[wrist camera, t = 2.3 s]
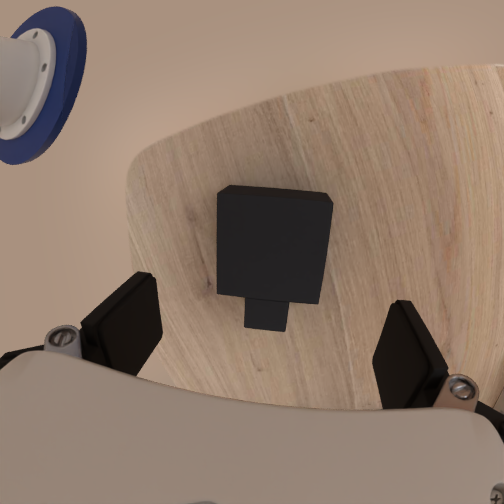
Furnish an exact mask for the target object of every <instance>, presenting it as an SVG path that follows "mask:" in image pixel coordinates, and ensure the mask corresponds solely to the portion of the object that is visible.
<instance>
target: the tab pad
mask: <svg viewBox="0 0 504 504" xmlns="http://www.w3.org/2000/svg"><path fill="white" fill-rule="evenodd" d="M332 212H333V202H332V200H331V199H330V197H329V196H328V194H327V193H321V192H312V191H302V190H291V189H279V188H266V187H252V186H236V185H229V186H228V187H226V188H224V189H223V190H221V191H220V192H218V193H217V294H221V295H229V296H237V297H245V317H244V327H245V328H252V329H261V330H270V331H280V332H285V330H286V323H287V316H288V308H289V302H295V303H306V304H318V303H319V298H320V292H321V286H322V281H323V275H324V268H325V262H326V256H327V249H328V242H329V235H330V227H331V220H332Z"/></svg>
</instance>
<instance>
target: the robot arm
mask: <svg viewBox="0 0 504 504" xmlns="http://www.w3.org/2000/svg"><path fill="white" fill-rule="evenodd" d="M55 65H56V46H55V42H54V38H53V37H52V35H51V34H50V33H49V32H48V31H46V30H43V29H39V28H36V29H31V30H28V31H26V32H25V33H23V34H22V35H20V36H19V37H18V38H17V39H14V38H7V37H0V138H1V139H4V140H9V139H15V138H18V137H20V136H21V135H23V134H24V133H25V132H26V131H27V130H28V129H29V128H30V127H31V126H32V124H33V123H34V122H35V120H36V119H37V117H38V115H39V113H40V112H41V110H42V108H43V105H44V103H45V101H46V99H47V96H48V93H49V90H50V87H51V84H52V80H53V76H54V71H55ZM81 326H82V328H81V329H80V330H78V329H77V328H76V327H74V326H72V325H62V326H58V327H56V328H54V329H52V330H51V331H49V333H48V334H47V335H46V337H45V342H44V345H40V346H35V347H31V348H26V349H21V350H17V351H12V352H7V353H5V354H4V355H3V356H2V357H1V358H0V504H504V414H502V413H500V412H498V411H496V410H495V409H493V408H491V407H489V406H487V405H485V404H484V403H482V402H480V401H478V398H479V388H478V386H477V384H476V383H475V382H474V381H473V380H472V379H471V378H469V377H468V376H466V375H463V374H452V375H449V373H448V371H447V370H448V366H447V364H446V362H445V360H444V358H443V356H442V354H441V352H440V351H439V349H438V347H437V345H436V343H435V341H434V340H433V338H432V336H431V334H430V332H429V331H428V329H427V327H426V325H425V324H424V322H423V320H422V319H421V317H420V315H419V314H418V312H417V310H416V309H415V307H414V305H413V304H412V302H411V301H407V300H396V302H395V303H392V304H391V306H390V308H389V312H388V315H387V318H386V321H385V324H384V327H383V330H382V333H381V336H380V339H379V342H378V344H377V347H376V350H375V353H374V355H373V360H372V364H373V369H374V373H375V377H376V381H377V385H378V389H379V394H380V398H381V403H382V407H383V409H381V410H344V409H319V408H304V407H292V406H282V405H273V404H264V403H257V402H250V401H243V400H237V399H231V398H225V397H219V396H214V395H209V394H204V393H199V392H195V391H190V390H186V389H181V388H177V387H173V386H169V385H165V384H161V383H157V382H153V381H150V380H146V379H143V378H139V377H136V376H137V374H138V373H139V371H140V370H141V368H142V367H143V365H144V364H145V362H146V361H147V359H148V358H149V356H150V355H151V353H152V352H153V350H154V349H155V347H156V346H157V344H158V343H159V341H160V340H161V338H162V335H163V329H162V323H161V315H160V308H159V300H158V292H157V283H156V279H155V277H153V276H152V274H151V273H146V272H139V271H138V272H136V273H135V274H134V275H133V276H132V277H130V278H129V279H128V280H127V281H126V282H125V283H123V284H122V285H121V286H120V287H119V288H118V289H117V290H115V291H114V292H113V293H112V294H111V295H110V296H109V297H108V298H106V299H105V300H104V301H103V302H102V303H101V304H100V305H99V306H97V307H96V308H95V309H94V310H93V311H92V312H91V313H90V314H89V315H88V316H86V318H84V319H83V320H82V321H81Z"/></svg>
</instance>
